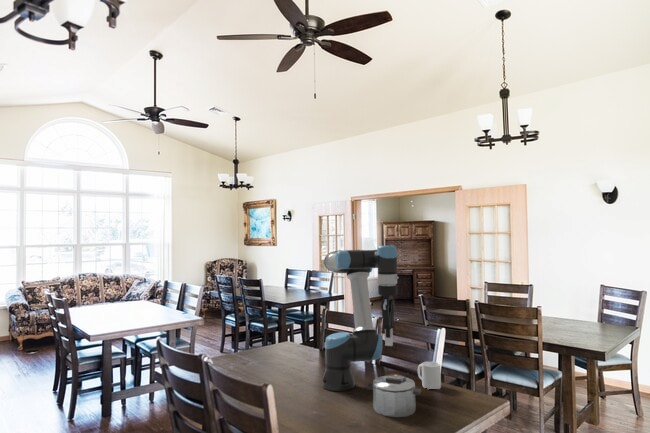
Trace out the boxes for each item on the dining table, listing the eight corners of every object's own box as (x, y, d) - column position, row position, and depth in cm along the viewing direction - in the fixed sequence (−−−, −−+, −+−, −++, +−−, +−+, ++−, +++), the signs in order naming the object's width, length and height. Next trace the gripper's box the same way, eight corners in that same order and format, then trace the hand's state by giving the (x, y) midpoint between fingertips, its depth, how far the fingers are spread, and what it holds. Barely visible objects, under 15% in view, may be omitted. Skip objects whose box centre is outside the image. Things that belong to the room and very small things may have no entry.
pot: (363, 412, 159) (362, 388, 160) (374, 397, 175) (374, 375, 175) (417, 420, 151) (417, 395, 152) (424, 403, 167) (423, 380, 168)
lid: (368, 388, 159) (368, 383, 159) (379, 375, 175) (379, 370, 175) (410, 393, 153) (410, 388, 153) (418, 379, 169) (418, 374, 169)
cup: (433, 391, 181) (432, 367, 182) (412, 384, 190) (411, 362, 191) (445, 387, 186) (444, 364, 186) (424, 380, 195) (423, 358, 196)
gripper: (393, 286, 155) (394, 350, 154) (400, 283, 167) (402, 342, 166) (374, 286, 158) (375, 348, 157) (382, 282, 170) (383, 340, 169)
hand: (389, 345), depth 161 cm, fingers closed
